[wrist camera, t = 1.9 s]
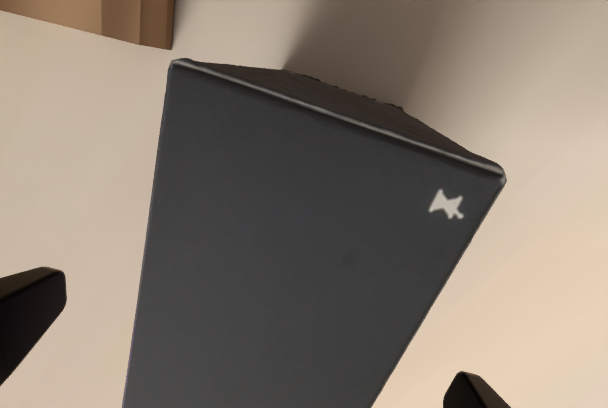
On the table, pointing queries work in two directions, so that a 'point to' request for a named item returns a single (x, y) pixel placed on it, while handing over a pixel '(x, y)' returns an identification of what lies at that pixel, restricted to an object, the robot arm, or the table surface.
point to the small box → (292, 241)
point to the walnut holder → (105, 17)
